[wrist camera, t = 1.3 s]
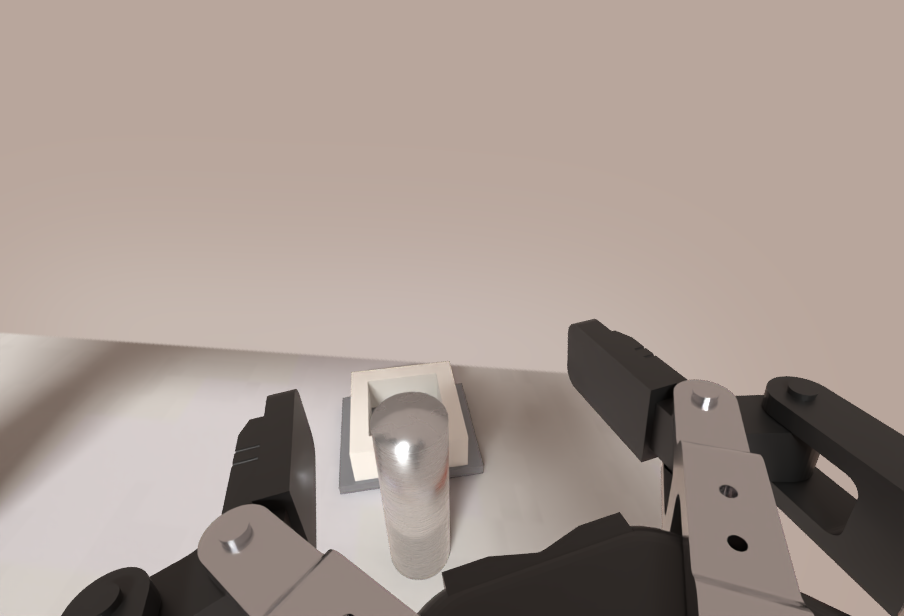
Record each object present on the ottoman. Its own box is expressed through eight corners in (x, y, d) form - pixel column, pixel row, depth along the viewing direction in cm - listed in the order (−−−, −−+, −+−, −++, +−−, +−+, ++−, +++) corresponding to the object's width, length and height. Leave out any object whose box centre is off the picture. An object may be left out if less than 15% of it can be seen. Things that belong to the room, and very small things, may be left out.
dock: (340, 494, 37) (332, 459, 34) (344, 404, 45) (337, 371, 43) (482, 472, 39) (484, 438, 36) (461, 390, 47) (461, 357, 44)
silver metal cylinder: (392, 584, 31) (370, 457, 23) (389, 524, 35) (369, 396, 27) (454, 574, 32) (454, 445, 24) (445, 515, 35) (442, 387, 27)
